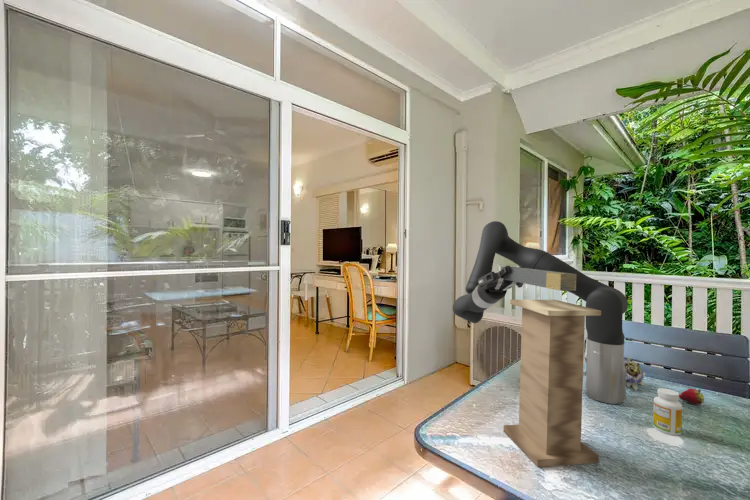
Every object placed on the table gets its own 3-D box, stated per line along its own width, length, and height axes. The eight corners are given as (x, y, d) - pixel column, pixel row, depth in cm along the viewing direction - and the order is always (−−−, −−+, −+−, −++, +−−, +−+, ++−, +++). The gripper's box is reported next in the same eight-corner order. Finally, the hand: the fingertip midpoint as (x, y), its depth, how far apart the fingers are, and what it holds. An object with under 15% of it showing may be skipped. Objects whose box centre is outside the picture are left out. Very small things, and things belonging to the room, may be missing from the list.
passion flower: (633, 406, 106) (626, 381, 102) (600, 386, 116) (592, 363, 112) (655, 384, 109) (650, 359, 104) (620, 367, 119) (614, 343, 114)
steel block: (512, 278, 93) (512, 266, 93) (575, 290, 70) (576, 274, 70) (499, 278, 93) (500, 266, 93) (559, 290, 69) (560, 273, 69)
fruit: (683, 398, 101) (683, 382, 101) (708, 407, 96) (709, 390, 96) (674, 400, 100) (675, 383, 100) (699, 409, 94) (700, 392, 94)
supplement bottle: (674, 426, 84) (675, 388, 84) (686, 438, 79) (687, 397, 79) (648, 422, 86) (650, 385, 86) (658, 433, 81) (660, 394, 81)
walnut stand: (554, 427, 82) (558, 299, 82) (600, 463, 69) (605, 310, 68) (502, 430, 80) (506, 299, 80) (539, 468, 66) (543, 310, 66)
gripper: (464, 281, 104) (488, 255, 89) (506, 281, 106) (536, 256, 91) (469, 304, 100) (495, 281, 85) (512, 304, 102) (544, 281, 87)
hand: (516, 268), depth 88 cm, fingers closed on steel block, 3 cm apart
